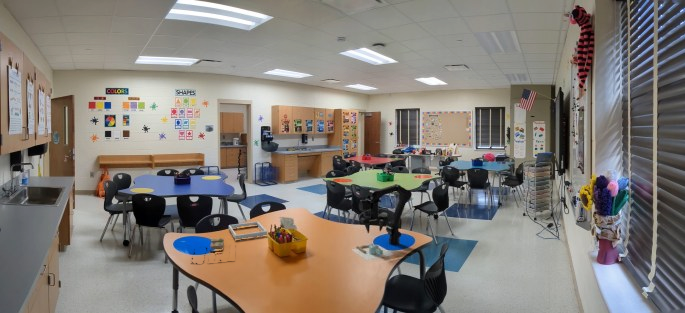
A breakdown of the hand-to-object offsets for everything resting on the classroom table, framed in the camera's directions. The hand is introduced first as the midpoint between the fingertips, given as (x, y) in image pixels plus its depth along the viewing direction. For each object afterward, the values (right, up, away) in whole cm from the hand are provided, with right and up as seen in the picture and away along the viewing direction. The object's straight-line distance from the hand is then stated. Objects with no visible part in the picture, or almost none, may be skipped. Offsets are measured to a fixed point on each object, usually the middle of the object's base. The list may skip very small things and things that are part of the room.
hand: (374, 232), depth 241 cm
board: (-2, -12, -8) cm, 15 cm away
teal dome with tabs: (0, -11, -13) cm, 17 cm away
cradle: (-4, -11, -4) cm, 12 cm away
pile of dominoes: (-104, -14, -6) cm, 105 cm away
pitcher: (-61, -10, +27) cm, 68 cm away
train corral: (-95, -9, +39) cm, 103 cm away
